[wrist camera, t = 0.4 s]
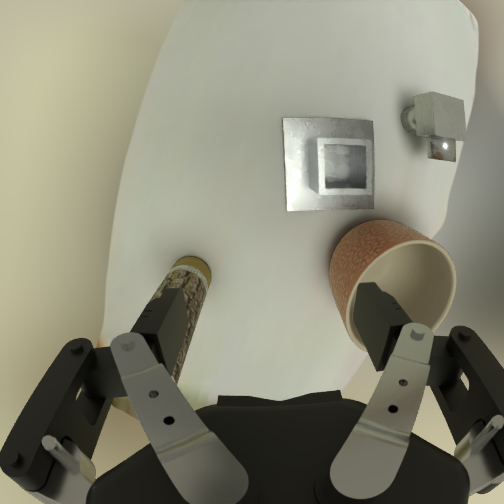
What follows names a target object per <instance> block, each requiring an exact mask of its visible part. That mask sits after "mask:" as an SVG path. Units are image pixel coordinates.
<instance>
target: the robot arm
mask: <svg viewBox="0 0 504 504" xmlns="http://www.w3.org/2000/svg"><path fill="white" fill-rule="evenodd" d="M353 319H354V324H355V326H356V328H357V330H358V333H359V335H360V337H361V339H362V341H363V343H364V345H365V347H366V349H367V352H368V354H369V356H370V358H371V360H372V362H373V365H374V367H375V369H376V371H377V372H378V371H384V372H383V374H382V376H381V378H380V380H379V382H378V385H377V387H376V389H375V391H374V393H373V395H372V397H371V399H370V401H369V403H368V405H366V404H364V403H362V402H359V401H355V400H351V399H344V398H342V396H341V392H340V390H336V391H327V392H317V393H310V394H306V395H302V396H299V397H295V398H291V399H288V400H284V401H275V400H269V399H263V398H257V397H252V396H221V395H218V402H217V404H214V405H210V406H206V407H203V408H200V409H198V410H196V411H194V410H193V408H192V407H191V406H190V404H189V403H188V401H187V400H186V398H185V397H184V396H183V394H182V393H181V391H180V390H179V388H178V387H177V385H176V384H175V382H174V381H173V379H172V378H171V376H172V373H173V370H174V367H175V364H176V361H177V358H178V355H179V352H180V349H181V346H182V344H183V341H184V338H185V335H186V332H187V329H188V315H187V309H186V303H185V297H184V292H183V289H182V288H165V290H164V291H163V293H162V295H161V296H160V298H155V299H153V300H152V301H151V302H149V303H148V304H147V305H146V307H145V309H144V311H143V312H142V313H141V315H140V317H139V318H138V320H137V321H136V323H135V325H134V326H133V328H132V329H131V331H130V332H129V333H124V334H121V335H119V336H117V337H116V338H114V339H113V341H112V342H111V344H110V346H109V347H102V348H93V345H92V343H91V341H90V340H88V339H86V338H78V339H74V340H72V341H70V342H68V343H67V344H66V345H65V346H64V347H63V348H62V350H61V351H60V353H59V354H58V356H57V357H56V358H55V360H54V361H53V363H52V364H51V366H50V367H49V369H48V370H47V372H46V373H45V375H44V376H43V378H42V380H41V381H40V382H39V384H38V386H37V387H36V389H35V391H34V392H33V394H32V395H31V397H30V398H29V400H28V402H27V403H26V405H25V407H24V409H23V410H22V412H21V414H20V416H19V417H18V419H17V421H16V423H15V424H14V426H13V428H12V430H11V432H10V434H9V436H8V437H7V439H6V441H5V443H4V445H3V447H2V450H1V451H0V467H1V469H2V471H3V472H4V473H5V474H6V475H8V476H9V477H10V478H11V479H13V480H14V481H15V482H16V483H17V484H19V486H20V487H22V488H23V489H24V490H25V491H27V492H28V493H29V494H31V495H32V496H34V497H35V498H37V499H38V500H40V501H41V502H43V503H45V504H468V498H469V496H471V495H473V494H475V493H478V494H485V493H488V492H490V491H491V490H492V489H494V488H495V487H496V486H498V485H499V484H500V483H501V482H503V481H504V369H503V367H502V366H501V365H500V363H499V362H498V361H497V359H496V358H495V356H494V355H493V354H492V353H491V351H490V350H489V349H488V347H487V346H486V345H485V344H484V343H483V341H482V340H481V339H480V337H479V336H478V335H477V334H476V333H475V331H473V330H472V329H470V328H468V327H465V326H455V327H453V328H452V329H451V332H450V334H449V336H434V334H433V332H432V330H431V329H430V328H429V327H427V326H426V325H423V324H420V323H413V321H412V320H411V319H410V317H409V316H408V315H407V314H406V312H405V311H404V310H403V309H402V307H401V306H400V305H399V304H398V302H397V301H396V299H395V298H394V297H393V296H392V295H390V294H388V293H387V292H385V291H383V292H382V290H381V289H380V288H379V287H378V285H377V284H376V283H375V282H364V283H359V284H358V286H357V292H356V299H355V305H354V312H353ZM463 372H464V373H465V375H466V377H467V378H468V380H469V390H467V388H466V387H465V385H464V383H463V382H462V380H461V378H460V377H461V375H462V373H463ZM425 386H430V387H431V390H432V391H433V394H434V396H435V398H436V400H437V402H438V404H439V406H440V409H441V411H442V413H443V415H444V417H445V419H446V422H447V424H448V427H449V429H450V431H451V433H452V436H453V439H454V441H455V444H456V448H455V451H454V456H452V455H451V454H449V453H447V452H445V451H443V450H441V449H440V448H438V447H436V446H434V445H433V444H431V443H429V442H427V441H426V440H424V439H422V438H421V437H419V436H417V435H416V434H414V433H412V432H411V431H412V429H413V426H414V423H415V420H416V417H417V414H418V410H419V407H420V404H421V401H422V397H423V394H424V390H425ZM80 388H81V389H82V391H81V393H80V394H79V397H78V398H77V400H76V396H77V393H78V391H79V389H80ZM124 396H128V397H129V399H130V402H131V404H132V406H133V408H134V411H135V413H136V415H137V417H138V419H139V421H140V423H141V425H142V427H143V429H144V431H145V433H146V435H147V437H148V439H149V441H150V443H149V444H148V445H146V446H145V447H144V448H142V449H141V450H139V451H138V452H136V453H135V454H133V455H132V456H131V457H129V458H127V459H126V460H125V461H123V462H121V463H120V464H118V465H117V466H115V467H114V468H112V469H111V470H109V471H107V472H106V473H104V474H103V475H101V476H100V477H98V478H97V479H95V476H96V469H95V466H94V464H93V463H92V461H91V458H92V455H93V452H94V449H95V447H96V444H97V441H98V438H99V435H100V433H101V430H102V427H103V424H104V422H105V419H106V417H107V414H108V411H109V409H110V406H111V404H112V401H113V399H114V397H124Z"/></svg>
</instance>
